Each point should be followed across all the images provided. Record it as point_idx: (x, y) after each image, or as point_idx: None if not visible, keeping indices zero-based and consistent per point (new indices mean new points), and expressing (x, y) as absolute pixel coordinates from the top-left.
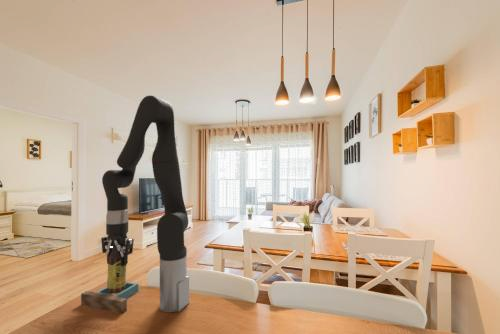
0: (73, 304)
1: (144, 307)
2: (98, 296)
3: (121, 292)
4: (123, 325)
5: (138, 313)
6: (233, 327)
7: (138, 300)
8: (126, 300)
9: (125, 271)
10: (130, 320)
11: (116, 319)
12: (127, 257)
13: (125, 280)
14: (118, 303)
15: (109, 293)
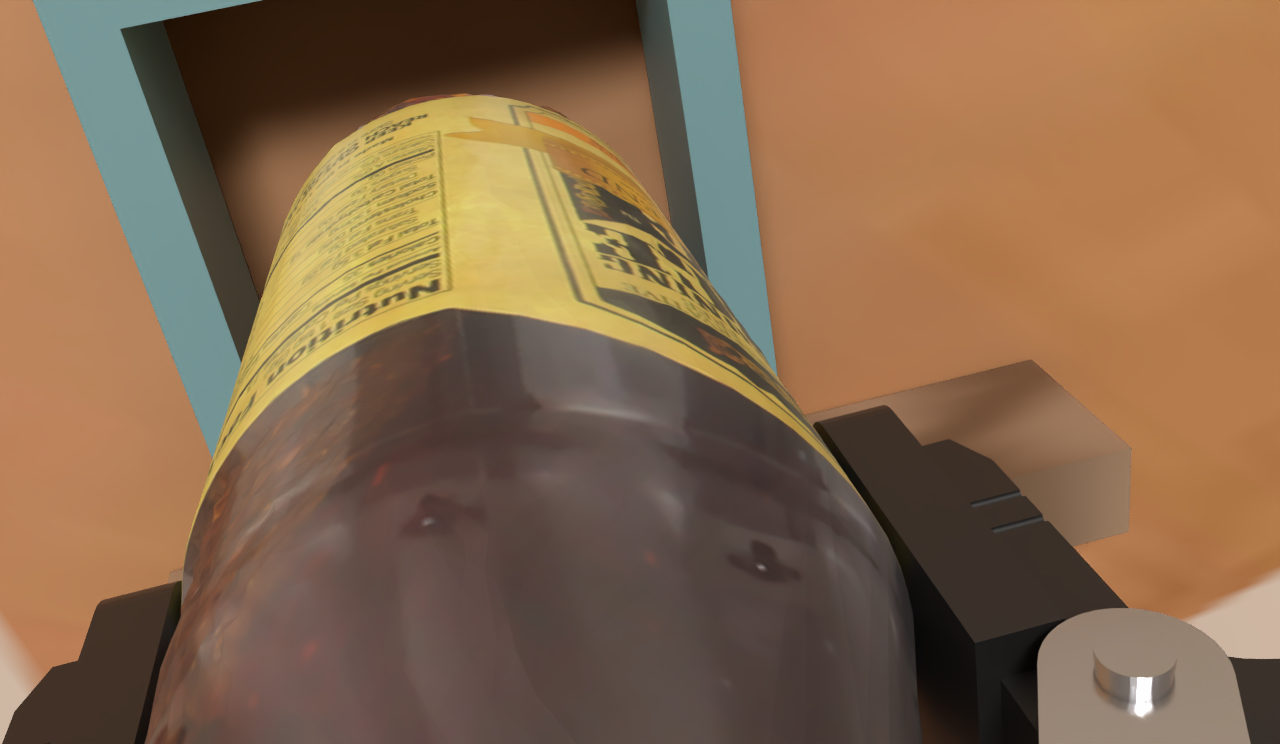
0: None
1: (1225, 171)
2: None
3: (738, 307)
4: (1238, 536)
5: (1244, 311)
6: None
7: (974, 84)
8: (1118, 441)
9: (717, 292)
10: (1249, 447)
11: None
12: (1106, 592)
13: (649, 195)
14: None
15: (235, 244)
